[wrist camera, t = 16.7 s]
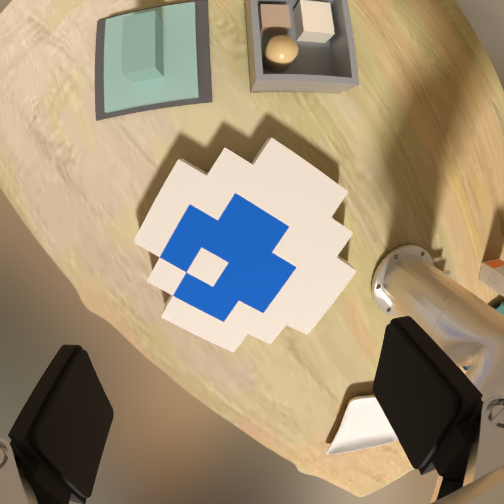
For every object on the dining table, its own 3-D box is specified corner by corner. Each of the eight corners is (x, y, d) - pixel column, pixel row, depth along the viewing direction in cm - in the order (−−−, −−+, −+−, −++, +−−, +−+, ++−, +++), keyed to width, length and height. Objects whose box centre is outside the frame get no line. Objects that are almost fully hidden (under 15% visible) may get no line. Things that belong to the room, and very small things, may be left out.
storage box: (328, 9, 31) (345, -11, 25) (337, 93, 36) (358, 84, 29) (244, 4, 31) (248, -19, 24) (250, 92, 35) (256, 80, 29)
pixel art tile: (276, 370, 46) (111, 289, 39) (273, 355, 49) (119, 278, 42) (388, 224, 39) (214, 102, 32) (376, 218, 43) (215, 107, 36)
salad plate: (322, 447, 61) (325, 457, 58) (345, 389, 54) (351, 401, 51) (394, 433, 63) (398, 441, 60) (425, 376, 57) (432, 385, 53)
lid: (195, 4, 30) (191, -16, 24) (199, 97, 34) (194, 88, 29) (108, 21, 29) (92, 6, 23) (107, 112, 34) (89, 108, 28)
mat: (207, 1, 30) (207, -1, 29) (212, 102, 35) (212, 101, 35) (98, 22, 29) (97, 20, 28) (97, 120, 34) (96, 120, 34)
